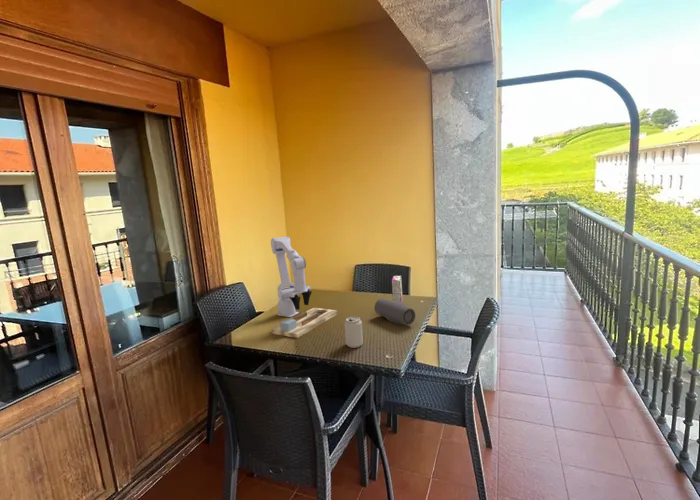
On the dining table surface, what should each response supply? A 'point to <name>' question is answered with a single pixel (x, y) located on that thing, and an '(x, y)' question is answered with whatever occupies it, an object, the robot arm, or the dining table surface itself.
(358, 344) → the can
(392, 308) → the bluetooth speaker
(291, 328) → the slate block
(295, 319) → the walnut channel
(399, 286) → the candy bar box
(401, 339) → the dining table surface
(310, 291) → the robot arm
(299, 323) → the birch deck
